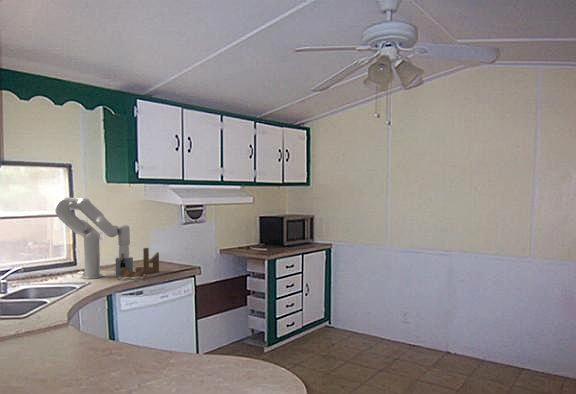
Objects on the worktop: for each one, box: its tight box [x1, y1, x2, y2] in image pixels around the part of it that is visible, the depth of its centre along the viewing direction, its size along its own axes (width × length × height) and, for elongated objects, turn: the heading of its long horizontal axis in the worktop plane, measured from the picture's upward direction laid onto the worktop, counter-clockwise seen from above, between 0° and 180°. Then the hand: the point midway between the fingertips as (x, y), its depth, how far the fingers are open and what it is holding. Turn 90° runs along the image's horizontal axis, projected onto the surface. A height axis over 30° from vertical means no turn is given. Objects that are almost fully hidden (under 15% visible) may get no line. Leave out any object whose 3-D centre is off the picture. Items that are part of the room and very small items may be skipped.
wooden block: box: [142, 247, 160, 274], centre depth 301 cm, size 4×11×18 cm, turn 126°
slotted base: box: [117, 266, 147, 281], centre depth 283 cm, size 16×11×7 cm
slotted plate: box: [115, 256, 134, 276], centre depth 293 cm, size 3×11×12 cm, turn 97°
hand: (124, 267), depth 293 cm, fingers open, 9 cm apart
